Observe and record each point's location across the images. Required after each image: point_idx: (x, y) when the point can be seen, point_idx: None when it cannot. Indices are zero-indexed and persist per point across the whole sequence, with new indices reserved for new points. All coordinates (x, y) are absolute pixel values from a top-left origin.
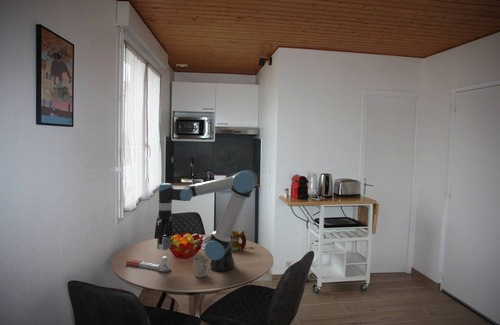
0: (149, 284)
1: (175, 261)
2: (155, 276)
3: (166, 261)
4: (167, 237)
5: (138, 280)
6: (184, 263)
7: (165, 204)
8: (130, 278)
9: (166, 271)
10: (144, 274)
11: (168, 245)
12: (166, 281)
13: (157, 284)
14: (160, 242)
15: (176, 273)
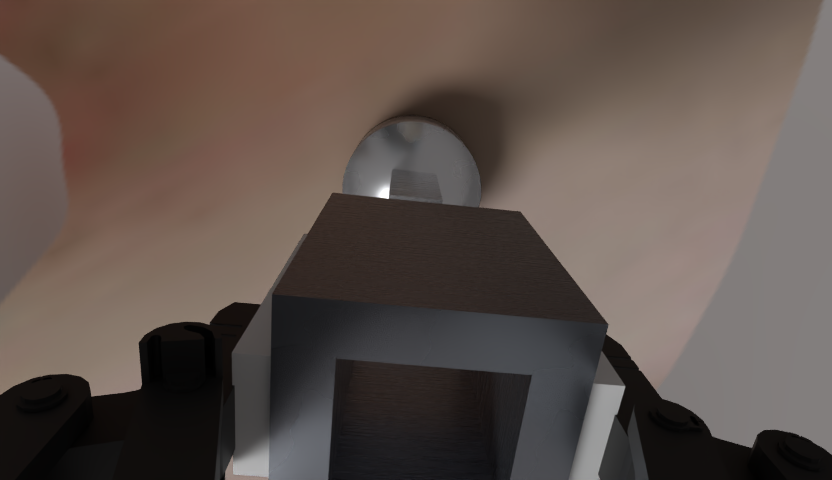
0: (769, 146)
1: (130, 187)
2: (577, 187)
3: (404, 181)
4: (466, 328)
5: (688, 284)
6: (136, 54)
7: None
8: (654, 364)
9: (454, 133)
10: None
11: (416, 219)
12: (684, 11)
13: (765, 68)
14: (632, 372)
15: (453, 4)
